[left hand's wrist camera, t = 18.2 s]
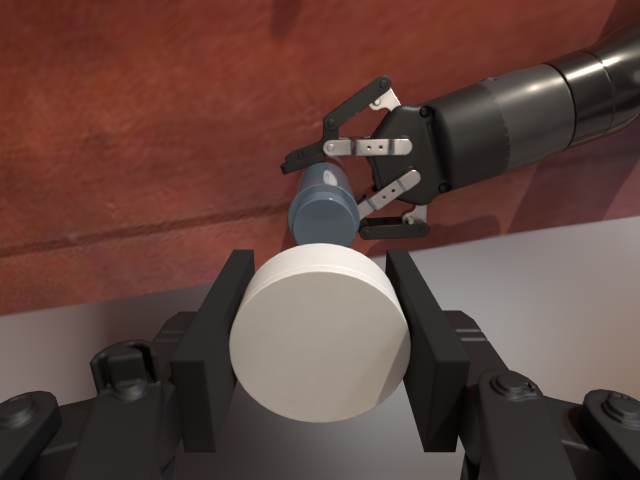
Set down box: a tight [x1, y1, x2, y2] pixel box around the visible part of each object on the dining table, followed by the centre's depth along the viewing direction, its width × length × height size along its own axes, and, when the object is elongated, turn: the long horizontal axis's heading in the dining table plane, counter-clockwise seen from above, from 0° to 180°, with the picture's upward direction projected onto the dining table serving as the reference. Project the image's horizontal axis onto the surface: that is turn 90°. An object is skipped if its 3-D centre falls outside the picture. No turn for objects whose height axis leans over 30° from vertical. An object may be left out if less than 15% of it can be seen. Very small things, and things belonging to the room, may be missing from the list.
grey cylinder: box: [288, 156, 360, 248], centre depth 30 cm, size 4×4×18 cm
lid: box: [229, 243, 411, 423], centre depth 11 cm, size 5×5×2 cm
